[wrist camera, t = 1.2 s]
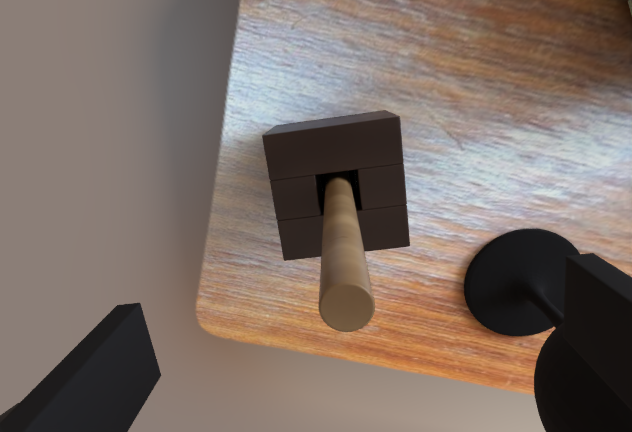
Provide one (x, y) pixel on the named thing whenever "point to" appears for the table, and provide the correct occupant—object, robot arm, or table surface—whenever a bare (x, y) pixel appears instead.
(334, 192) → the stick
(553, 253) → the wine glass
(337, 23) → the table surface
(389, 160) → the stand
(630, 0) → the bowl
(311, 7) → the table surface
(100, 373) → the robot arm
